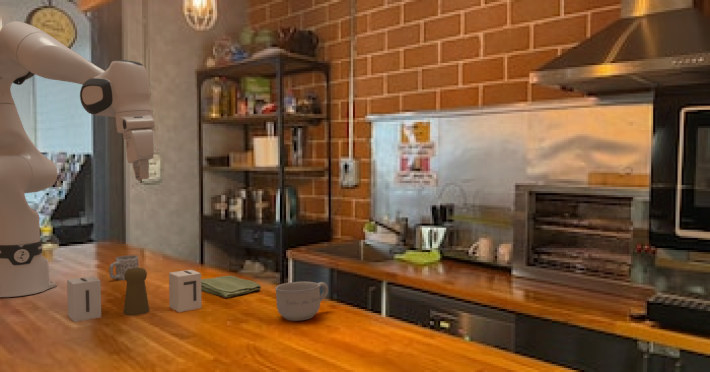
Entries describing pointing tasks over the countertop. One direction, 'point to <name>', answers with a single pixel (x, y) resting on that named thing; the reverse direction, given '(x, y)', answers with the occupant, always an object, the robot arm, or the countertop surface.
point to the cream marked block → (185, 290)
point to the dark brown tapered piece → (136, 292)
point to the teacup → (299, 299)
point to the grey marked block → (84, 298)
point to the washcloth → (228, 286)
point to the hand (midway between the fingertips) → (142, 179)
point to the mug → (123, 266)
